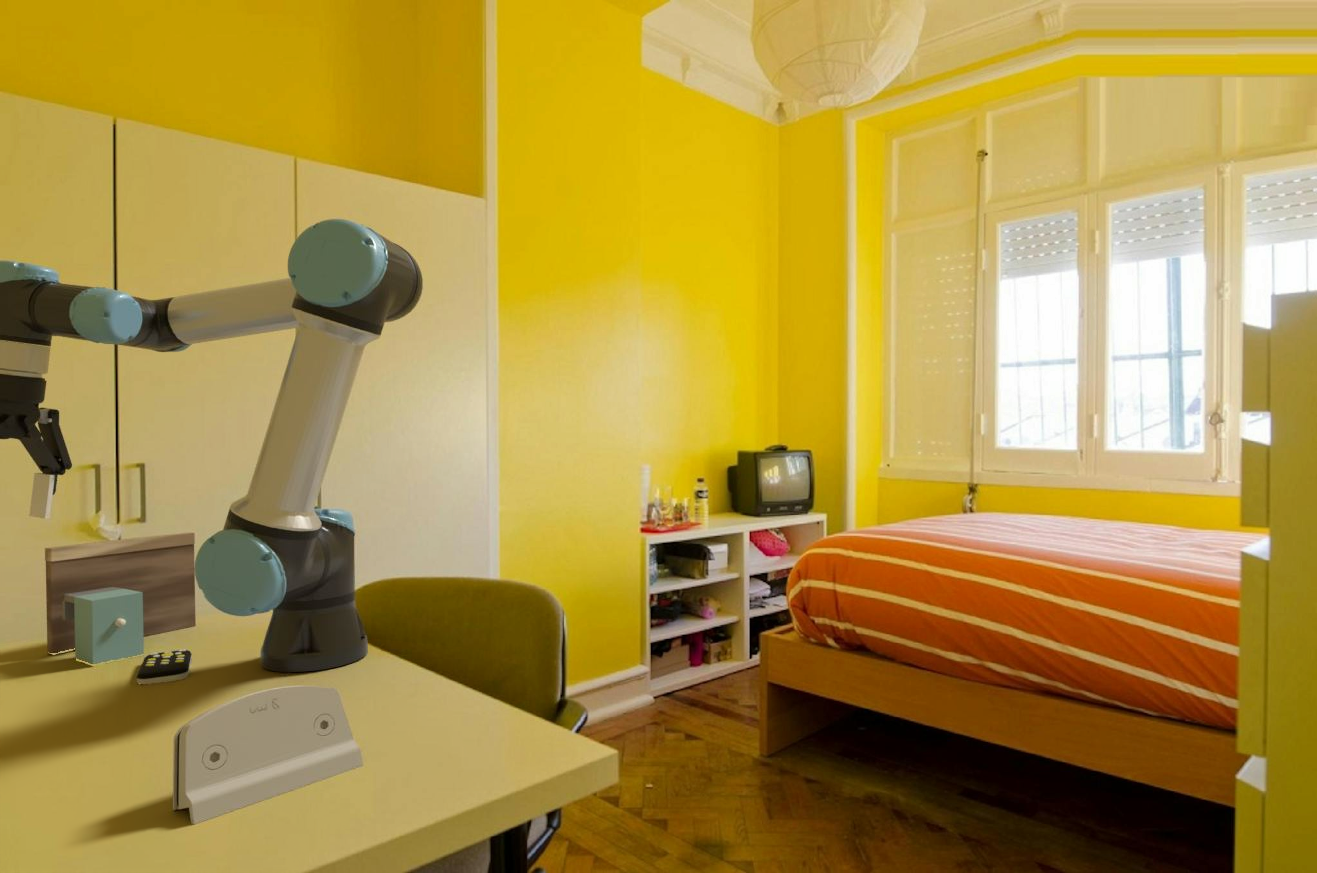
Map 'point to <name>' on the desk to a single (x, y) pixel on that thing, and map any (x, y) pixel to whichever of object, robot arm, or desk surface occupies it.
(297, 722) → the grey mounting bracket
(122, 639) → the cabinet
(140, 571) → the wall board
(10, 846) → the desk surface
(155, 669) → the remote control
